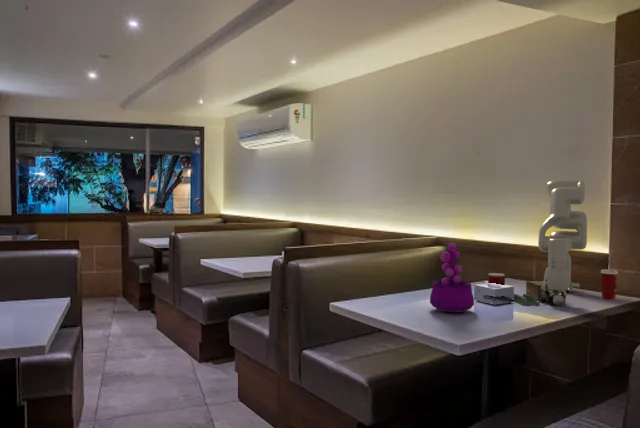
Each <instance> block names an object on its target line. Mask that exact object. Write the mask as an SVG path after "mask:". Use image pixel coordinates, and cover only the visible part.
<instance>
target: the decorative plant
mask: <svg viewBox="0 0 640 428" xmlns="http://www.w3.org/2000/svg"><path fill="white" fill-rule="evenodd" d="M457 248H458V247H457V244H456V243H455V242H449V243H448V245H447V249H448V251H442V252H441V253H440V254H439V260H440V261H441V262H444V263H443V264H442V265H441V269H442V271H443V272H444V274H445V277H443V278H441V279H437V280H434V281H433V282H432V289H431V292H430V297H429V304H430V305H431V306H432V307H434V308H435V309H438V310H439V311H442V312H447V313H462V312H465V311H469V310H471V309H472V308H473V306H474V305H475V297H474V294H473V289H472V283H471V282H469V281H466V280H462V276H461V275H460V274H461V273H462V272H463V270H464V269H463V266H462V265H460V264H455V263H456V262H455V259H458V258H460V252H459V251H457ZM449 251H450V252H449Z"/></svg>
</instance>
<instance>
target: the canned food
mask: <svg viewBox="0 0 640 428" xmlns="http://www.w3.org/2000/svg"><path fill="white" fill-rule="evenodd" d="M488 283H496V284H501V285H505V286H506V284H505V283H506V275H505V274H504V273H498V272H489V273H488V275H487V284H488Z"/></svg>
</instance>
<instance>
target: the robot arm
mask: <svg viewBox="0 0 640 428" xmlns="http://www.w3.org/2000/svg"><path fill="white" fill-rule="evenodd" d="M546 190H547V193H548V195H549V196H550V205H549V206H550V208H549V217H548V218H546V219H545V220H544V222H543V223H542V224H541V225H540V228H539V232H538V249H539V250H540V251H541V252H545V253H547V254H548V255H547V259H548V260H547V267H546V268H545V271H544V276H543V281H544V284H543V286H542V287H541V290H542V291H544V292H545V293H546V295H548V299H547V301H546V302H547V304H548V305H549V306H553V305H554V304H553V297H552V293H553V290H559V293H560V295H561V296H563V297H564V298H565V303H564V304H563V305H562V306H565V305H566V302H567V300H566V297H567V296H568V295H569V293H572V292H571V291H573V292H574V291H575V289H574V288H580V285H581V284H580V283H579V282H576V283H574V282H572V281H571V280H572V279H571V277H572V276H571V275H572V257H571V255H570V253H569V252H571V250H578V251H580V250H581V251H583V250H584V249H586V248H587V243H588V219H587V214H586V213H585V211H581V210H571V209H572V205H582V204H583V203H584V200H585V197H586V195H585V194H586V185H585V182H584V181H583V180H582V179H556V180H555V179H553V180H550V181H548V182H547V183H546ZM552 227H554V228H556V229H560V230H555V231H552V232H551V233H550V235H546V232H547V230H549V229H550V228H552ZM570 230H572V231H570ZM573 230H576V231H573ZM545 288H547V289H548V290H546V289H545Z"/></svg>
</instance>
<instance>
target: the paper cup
mask: <svg viewBox="0 0 640 428" xmlns="http://www.w3.org/2000/svg"><path fill="white" fill-rule="evenodd" d="M599 274H600V281H601V283H600V284H601V285H600V286H601V299H603V298H606V299H605V300H607V299H615V300H616V297H617V296H616V295H617V284H618V275H619V272H618V270H616V269H607V268H606V269H605V268H603V269H601V270H600V271H599Z"/></svg>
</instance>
